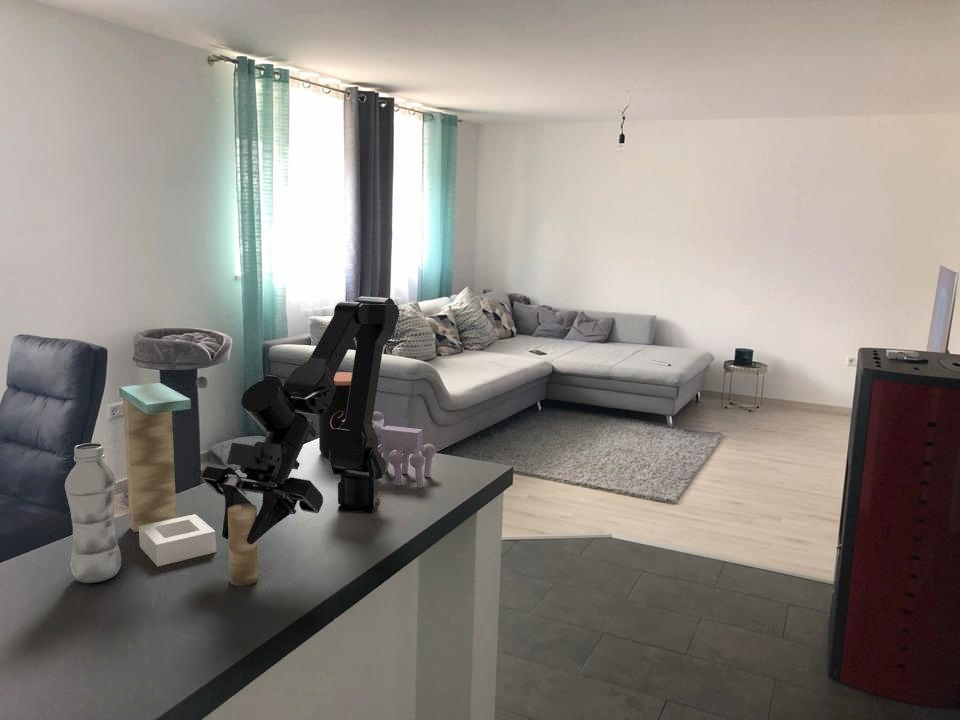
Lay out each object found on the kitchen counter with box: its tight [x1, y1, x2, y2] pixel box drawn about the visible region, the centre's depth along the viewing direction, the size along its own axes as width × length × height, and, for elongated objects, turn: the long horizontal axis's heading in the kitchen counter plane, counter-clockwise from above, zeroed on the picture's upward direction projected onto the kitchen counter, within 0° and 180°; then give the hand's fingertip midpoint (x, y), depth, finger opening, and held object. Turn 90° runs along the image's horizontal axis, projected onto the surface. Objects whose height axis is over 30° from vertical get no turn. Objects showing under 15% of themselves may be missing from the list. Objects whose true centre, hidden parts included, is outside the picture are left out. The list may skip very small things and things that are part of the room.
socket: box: [138, 513, 217, 567], centre depth 124 cm, size 9×9×4 cm
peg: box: [228, 503, 259, 587], centre depth 114 cm, size 4×4×11 cm
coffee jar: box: [318, 371, 352, 459], centre depth 176 cm, size 11×11×18 cm
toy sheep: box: [342, 410, 437, 489], centre depth 161 cm, size 20×11×14 cm, turn 73°
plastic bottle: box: [64, 442, 123, 584], centre depth 112 cm, size 6×7×20 cm
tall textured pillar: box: [118, 382, 192, 533], centre depth 127 cm, size 8×15×24 cm, turn 39°
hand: (236, 540), depth 112 cm, fingers closed on peg, 4 cm apart
